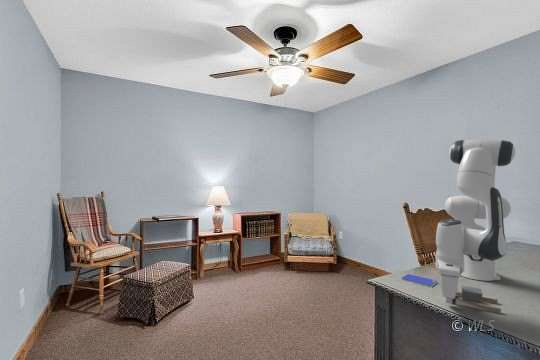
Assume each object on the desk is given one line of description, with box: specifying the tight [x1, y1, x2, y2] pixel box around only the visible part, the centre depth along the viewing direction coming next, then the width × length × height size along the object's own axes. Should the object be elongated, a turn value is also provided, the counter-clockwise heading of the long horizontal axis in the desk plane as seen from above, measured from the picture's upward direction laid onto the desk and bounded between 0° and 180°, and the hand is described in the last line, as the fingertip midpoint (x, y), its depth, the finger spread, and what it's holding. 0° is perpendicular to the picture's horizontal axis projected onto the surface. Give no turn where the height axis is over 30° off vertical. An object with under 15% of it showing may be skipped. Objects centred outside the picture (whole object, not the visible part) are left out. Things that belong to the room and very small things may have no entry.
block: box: [461, 285, 483, 304], centre depth 105 cm, size 6×6×5 cm
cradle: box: [455, 290, 502, 314], centre depth 106 cm, size 14×17×4 cm
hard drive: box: [401, 273, 438, 288], centre depth 127 cm, size 2×8×12 cm
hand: (449, 302), depth 101 cm, fingers closed
